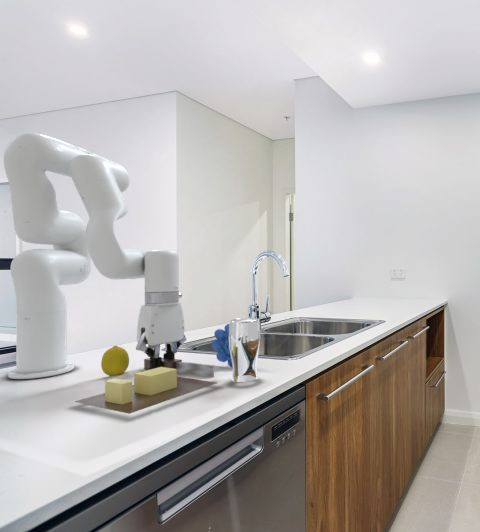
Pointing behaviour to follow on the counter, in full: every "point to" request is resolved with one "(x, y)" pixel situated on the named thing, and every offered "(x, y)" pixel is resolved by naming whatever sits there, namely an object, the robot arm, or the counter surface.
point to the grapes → (222, 345)
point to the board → (148, 396)
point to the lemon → (115, 361)
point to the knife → (184, 367)
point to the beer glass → (244, 348)
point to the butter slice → (118, 391)
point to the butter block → (155, 380)
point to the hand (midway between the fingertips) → (162, 370)
